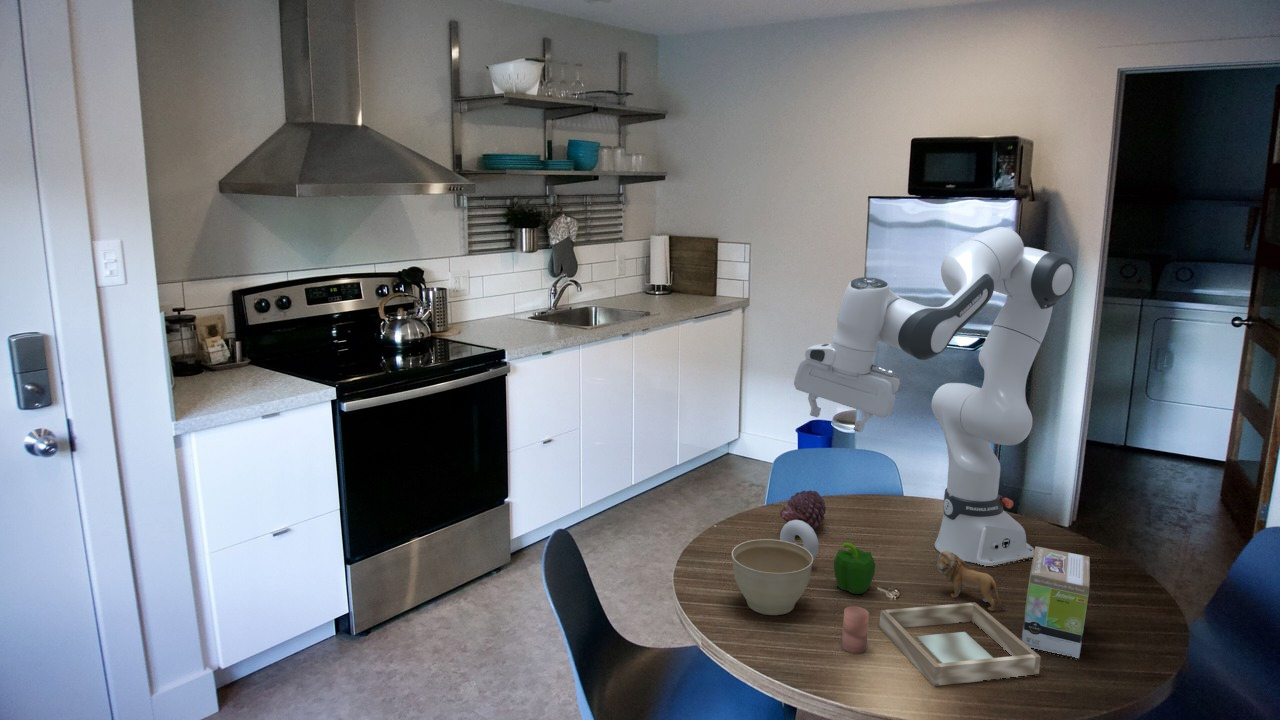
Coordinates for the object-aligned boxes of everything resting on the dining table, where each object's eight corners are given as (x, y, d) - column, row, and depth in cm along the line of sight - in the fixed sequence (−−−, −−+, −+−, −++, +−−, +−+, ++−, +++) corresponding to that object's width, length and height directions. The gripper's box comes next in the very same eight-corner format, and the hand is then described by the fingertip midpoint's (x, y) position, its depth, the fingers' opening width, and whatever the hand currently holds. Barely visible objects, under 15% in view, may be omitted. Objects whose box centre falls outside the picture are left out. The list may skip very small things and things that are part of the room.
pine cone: (804, 514, 219) (806, 477, 217) (839, 523, 212) (842, 486, 210) (769, 534, 205) (771, 496, 203) (806, 545, 199) (808, 505, 197)
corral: (973, 618, 165) (975, 602, 165) (1038, 675, 146) (1040, 656, 146) (879, 627, 162) (880, 610, 161) (933, 686, 142) (935, 667, 142)
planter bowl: (762, 579, 181) (764, 532, 179) (825, 605, 170) (829, 555, 168) (713, 603, 170) (715, 553, 168) (778, 633, 159) (781, 580, 157)
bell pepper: (880, 588, 178) (884, 544, 176) (861, 601, 172) (864, 556, 170) (845, 576, 183) (848, 533, 181) (825, 588, 177) (828, 544, 175)
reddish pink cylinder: (860, 639, 157) (862, 605, 156) (870, 652, 153) (873, 617, 151) (837, 642, 156) (840, 607, 155) (848, 654, 152) (850, 619, 151)
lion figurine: (930, 593, 176) (933, 553, 174) (939, 584, 180) (943, 545, 178) (1002, 616, 167) (1007, 574, 165) (1011, 606, 171) (1015, 565, 169)
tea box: (1080, 662, 151) (1090, 585, 148) (1020, 647, 155) (1028, 573, 152) (1081, 625, 164) (1090, 554, 161) (1025, 612, 168) (1033, 543, 165)
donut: (820, 567, 187) (823, 525, 185) (810, 572, 185) (813, 529, 183) (785, 553, 195) (787, 512, 193) (775, 557, 192) (777, 516, 190)
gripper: (907, 371, 164) (890, 436, 168) (810, 342, 174) (796, 404, 178) (897, 376, 158) (880, 443, 162) (798, 347, 169) (784, 411, 172)
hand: (835, 423), depth 170 cm, fingers open, 8 cm apart
